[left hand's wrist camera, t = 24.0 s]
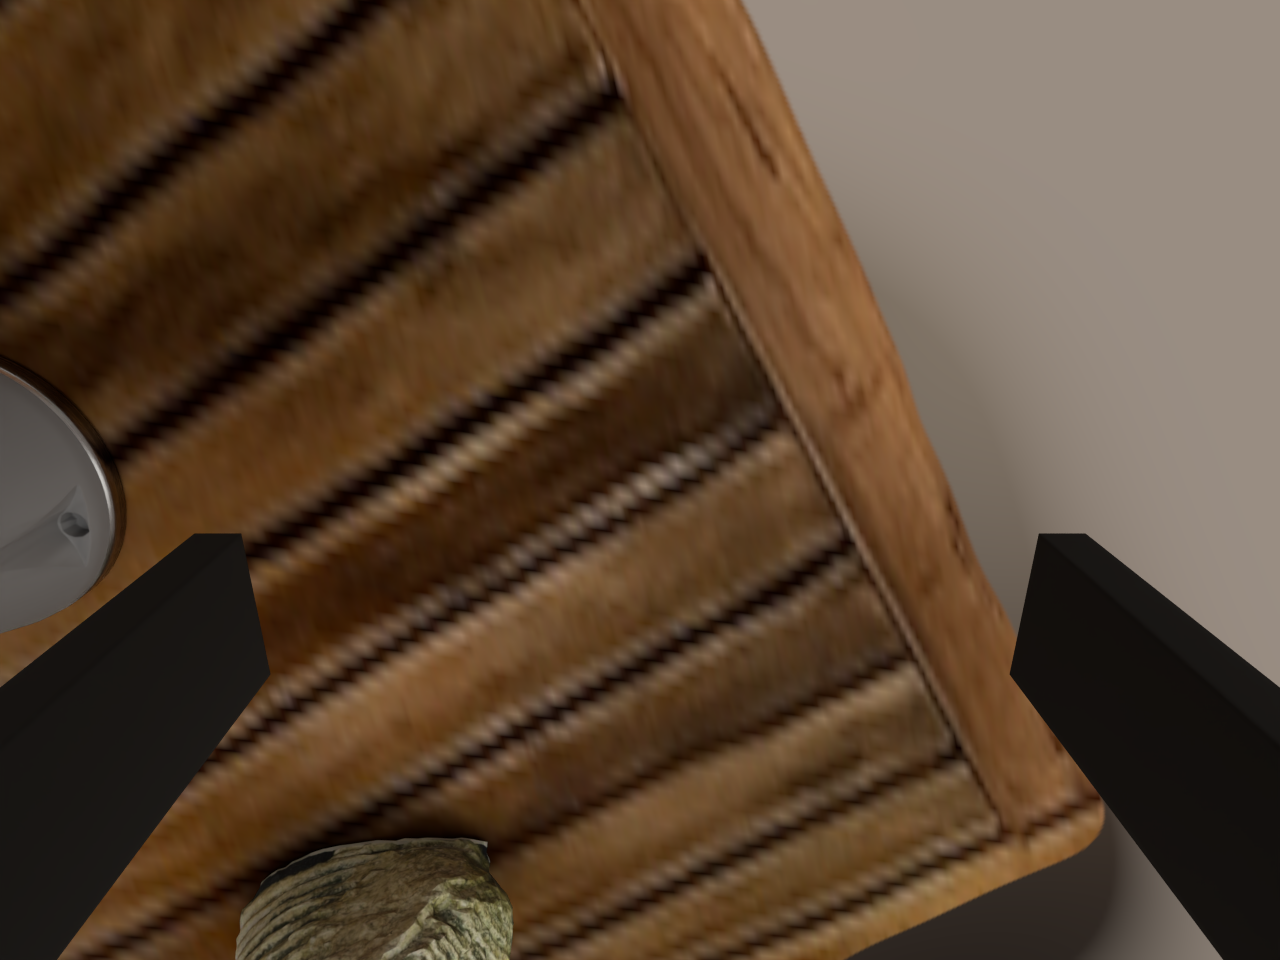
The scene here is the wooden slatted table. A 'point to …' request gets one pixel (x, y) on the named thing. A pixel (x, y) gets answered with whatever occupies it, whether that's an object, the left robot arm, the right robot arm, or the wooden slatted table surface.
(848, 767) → the wooden slatted table surface
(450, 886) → the fossil
